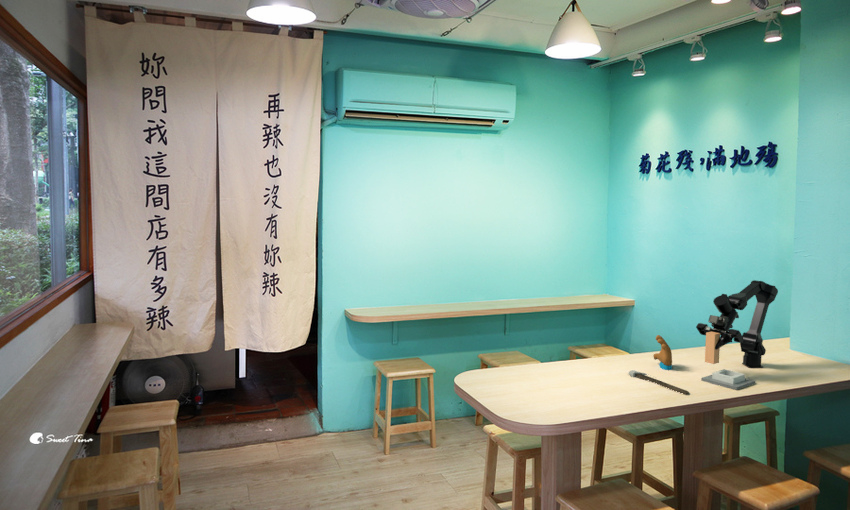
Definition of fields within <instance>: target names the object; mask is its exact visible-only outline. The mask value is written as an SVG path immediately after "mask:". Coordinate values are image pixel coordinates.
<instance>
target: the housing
mask: <svg viewBox="0 0 850 510" xmlns="http://www.w3.org/2000/svg"><path fill="white" fill-rule="evenodd" d="M745 376H746V374H745V373H741V372H737V371H733V370H732V371H731V370H728V369H724V368H723V369H720V370H718V371H714V372H712V374H710V375H706V376H704V377H703V376H702V377H701V378H700V379H701V381H702V382H704V383H705V382H706V383H709V384H712V385H715V386H719V385H720V386H719V387H724V388H726V389H730V388H731V390H734V389H735V390H734V391H738V390H741V389H744V388H747V387H749V385H750V386H752V384H753V385H755V384H756V380H754V379H749V378H745ZM743 387H744V388H743Z"/></svg>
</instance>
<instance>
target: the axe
mask: <svg viewBox="0 0 850 510" xmlns="http://www.w3.org/2000/svg"><path fill="white" fill-rule="evenodd" d="M647 374H648V373H644V372H641V371H637V370H629V371H628V376H629V375H630V376H629V377H632V378H638V379H641V380H644V379H645V380H644V381H647V380H649V381H648V382H650V381H652V382H651V383H653V382H655V383H654V384H656V383H657V384H656V385H659V384H660V386H661V385H662V387H663V386H664V387H663V388H666V387H667V388H666V389H668V388H669V389H668V390H671V389H672V390H671V391H673V390H674V391H673V392H676V391H677V392H676V393H678V392H680V393H679V394H681V393H683V394H682V395H685V396H688V395H689V393H690V392H689V391H688V390H686V389H683V388H680V387H677V386H675V385H672V384H670V383H667V382H665V381H662V380H659V379H657V378H654V377H651V376H648V375H647Z"/></svg>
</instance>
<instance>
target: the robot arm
mask: <svg viewBox="0 0 850 510" xmlns="http://www.w3.org/2000/svg"><path fill="white" fill-rule="evenodd" d="M778 293H779V290H778V288H777V287H776V286H775V285H771V284H769V283H766V282H765V281H763V280H755V279H753V280H751V281H750V283H749V284H748V285H746V286H745V287H744V288H743V289H742V290H741V291H739V292H737V293H732V294H729V295H728V294H727V293H726V294H725V293H721V295H718V296H716V297H714V298H713V304H714V306H715V307H716V309H717V311H718V312H719V313H720V315H713V314H712V315H711V314H710V315H709V318H708V321H707V322H708V323H710V324H711V325H710V326H712V327H710V326H709V325H708V324H706V323H702V322H699V323H697V324H696V327H695V328H696V329H697V331H698V332H699V334H700V335H702V336H705V337H706V333H707V332H716V333H720V339H719V341H718V342H717V344H716V346H715V349H716V350H717V349H719V348H722V347H724V346H726V345H727V344H730V343H733V341H734V342H735V343H739V345H740V351H741V352H742V353H744V354H743V355H742V363H741V365H743V366H745V367H747V368H753V369H754V368H755V369H756V368H757V369H758V368H760V369H762V368H764V366H762V357H763V356H765V355H766V351H767V350H766V348H765V346H764V345H763V341H764V340H763V337H762V335H761V332H762V330H763V327H764V324H765V323H764V322H765V319H766V317H767V313H768V309H769V306H770V304H772V303H773V302H774V301H775V300H776V298H777V296H778ZM753 297H755V298H756V305H755V308H754V311H753V315H752V318H751V321H750V325H749V328H748V330H747V331H746V332H745V331H744V332H743V333H741V330H739V329H733V327H734V326H733V324H734V322H735V319H739V318H740V315H739V312H738V311H743V310H745V308H746V307H747V306H748V302H749V300H751V299H752V298H753ZM737 310H738V311H737ZM704 344H705V345H704V347H705V346H706V342H705V343H704Z"/></svg>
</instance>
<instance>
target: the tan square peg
mask: <svg viewBox="0 0 850 510" xmlns="http://www.w3.org/2000/svg"><path fill="white" fill-rule="evenodd" d="M720 337H721V335H720V333H716V332H707V333H706V336H705V343H706V346H705V345H704V347H705V349H704V350H705V351H704V363H707V364H708V363H709V364H711V365H715V364H718V363H720V350H721V349H720V348H721V347H720V348H719V349H717V350H716V349H715V346H716V344H717V342H718V341H719V339H720Z"/></svg>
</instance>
